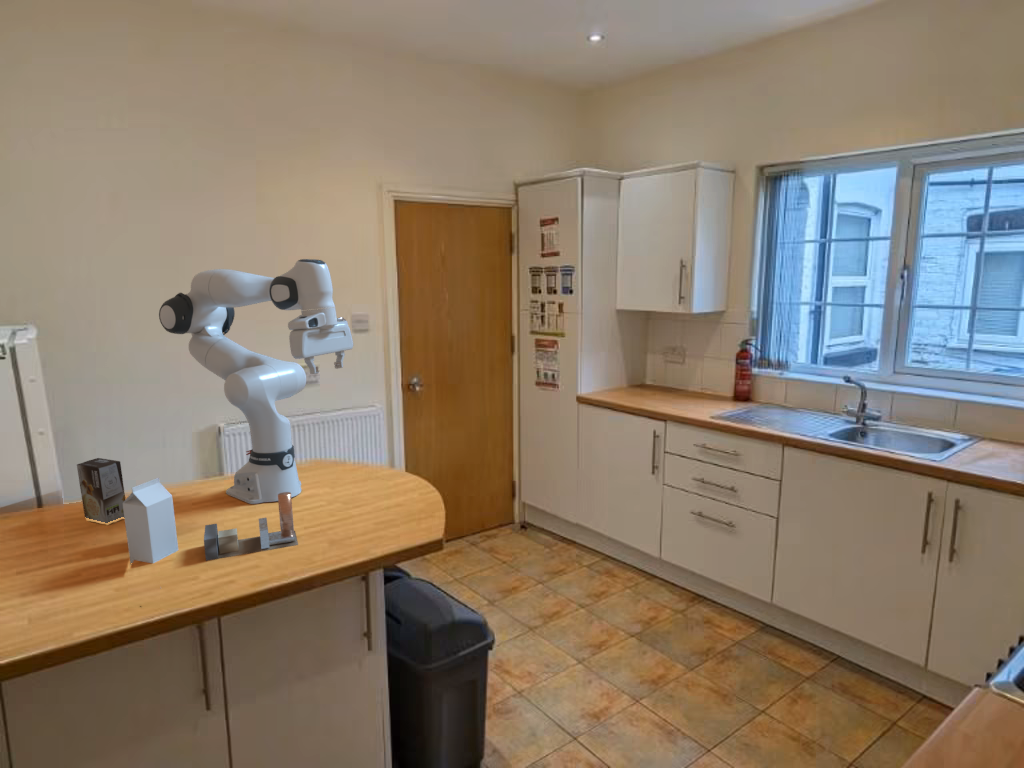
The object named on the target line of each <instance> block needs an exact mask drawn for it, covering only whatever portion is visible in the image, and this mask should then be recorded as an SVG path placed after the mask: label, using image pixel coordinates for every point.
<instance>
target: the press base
mask: <svg viewBox="0 0 1024 768" xmlns="http://www.w3.org/2000/svg"><path fill="white" fill-rule="evenodd" d="M218 531H219V530H218V524H217V523H211V524H206V525H205V526H204V534H203V535H204V536H203V547H204V554H205V562H208V561H214V560H219V559H223V558H224V559H225V558H230V557H236V556H242V555H247V554H254V553H260V552H266V551H271V550H277V549H282V548H283V549H284V548H288V547H295V546H299V542H298V538H297V533H296V530H294V535H295V541H291V542H285V543H279V544H273V545H269V546H270V548H265V549H261V540H260V535H259V536H254V537H253V536H252V537H248V538H247V537H246V538H241V539H238V551H234V552H228V553H222V554H220V552H219V542H218Z"/></svg>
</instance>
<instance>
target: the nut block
mask: <svg viewBox="0 0 1024 768" xmlns="http://www.w3.org/2000/svg"><path fill="white" fill-rule="evenodd" d="M238 540H239V539H238V528H231V529H224V530H218V542H219V552H220V554H222V553H228V552H234V551H238Z"/></svg>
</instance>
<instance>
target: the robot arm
mask: <svg viewBox="0 0 1024 768" xmlns="http://www.w3.org/2000/svg"><path fill="white" fill-rule="evenodd" d="M333 293H334V288H333V281H332V277H331V273H330V269H329V267H328V264H327V263H326V262H325V261H323V260H322V259H314V258H313V259H312V258H311V259H310V258H303V259H302V258H301V259H298V260H297V261H296V262H295V263H294V266H293V267H292V268H290V269H289V270H288V271H286V272H284V273H283V274H281V275H277V276H276V277H270V276H266V275H260V274H256V273H250V272H245V271H241V270H235V269H228V268H225V269H224V268H214V269H208V270H204V271H200V272H198V273H197V274H195V275H194V277H192V279H191V282H190V291H189V292H188V293H186V294H185V293H183V292H178V293H177V294H175V296H173V297H171V298H169V299H167V300H166V301H164V302H163V303H162V305H161V306H160V308H159V312H158V317H159V322H160V324H161V326H162V328H163V329H164V330H165V332H168V333H169V334H170V333H171V334H176V335H184V334H191V338H190V339H189V340H188V341H189V342H188V351H189V354H190V355H191V356H192V357H193V359H194V360H195V361H196V362H198V363H199V364H200V365H201V366H202V367H203V368H205V369H207V370H208V371H210V372H211V373H213V374H214V375H216V376H217V377H219V378H220V379H222V380H224V384H223V392H224V396H225V398H226V399H227V401H228V402H229V403H230V404H231V405H233V406H234V407H236V408H238V409H239V410H240V411H241V412H242V413H243V415H244V416H245V419H246V421H247V423H248V427H249V430H250V431H249V433H250V438H251V439H250V440H251V449H250V450H246V451H245V452H246V456H249V458H248V461H247V462H246V463H245V464H244V465H243V466H241V467H240V468H239V469H238V470H236V472H235V474H234V476H233V485H232V486H230V487H229V488H227V489H226V490H225V494H226V495H228V496H230V497H233V498H236V499H238V500H240V501H243V502H245V503H247V504H250V505H257V504H261V503H271V502H278V494H279V493H283V492H290V493H291V499H292V498H294V497H296V496H298V495H299V494H301V492H302V483H301V480H300V478H299V473H298V468H297V464H296V460H295V457H296V456H295V453H296V451H295V447H294V445H293V440H292V439H293V438H292V437H293V436H292V425H291V424H292V423H291V421H290V420H289V418H288V417H287V416H285V415H283V414H281V413H279V412H278V410H277V407H276V402H277V401H281V400H285V399H289V398H291V397H293V396H295V395H297V394H298V393H300V392H302V391H303V390H304V389H305V387H306V384H307V374H306V371H305V369H304V368H303V367H302V365H300V364H299V363H298V362H294V361H288V360H283V359H282V360H281V359H279V358H274V357H271V356H269V355H265V354H261V353H258V352H255V351H252V350H250V349H248V348H246V347H245V346H243V345H241V344H240V343H237V342H236V341H234V340H232V339H231V338H229V337H227V336H225V335H227V334H228V333H229V331H230V330H231V327H232V325H233V323H234V320H235V308H240V307H245V306H251V305H255V304H256V305H257V304H261V303H264V302H265V303H266V302H272V304H273V305H274V306H275V307H276V308H277V309H279V310H281V311H296V310H301V311H300V312H301V314H300V315H299V316H297V317H295V318H294V319H292V320H289V321H288V322H287V327H288V328H287V329H288V330H290V332H289V336H288V337H289V348H290V353H291V356H292V357H293V358H294V359H295V360H297V359H299V360H300V359H301V360H302V359H303V360H304V363H305V365H307V367H308V369H309V373H310V375H316V374H319V372H320V371H319V366H316V364H315V362H314V361H315V357H318V356H325V355H328V354H334V353H335V356H336V360H335V361H334V362H333V364H334V369H337V370H338V369H342V368H343V367H344V359H345V355H346V354H345V351H349V350H352V349H353V347H354V341H353V336H352V332H351V329H350V326H349V323H348V320H346V319H345V318H344V317H342V316H341V317H338V316H337V310H336V305H335V303H334V299H333V295H334V294H333Z"/></svg>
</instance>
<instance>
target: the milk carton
mask: <svg viewBox="0 0 1024 768" xmlns="http://www.w3.org/2000/svg"><path fill="white" fill-rule="evenodd" d="M174 509H175V507H174V501H173V495H172V494H171V493H170V492H169V491H168V490H167V488H166V487H165V486H164V485H163V484H162V483H161V482H160V477H157V478H154V479H150V480H149V481H145V482H143V483H141V484H138V485H136V486H133V487H131V493H130V494H129V495H128V496H127V498H125V501H124V502H123V511H124V518H125V519H124V523H125V531H126V540H127V548H128V555H129V563H130V564H131V563H133V564H134V561H137V562H138V561H139V562H143V563H148V564H149V563H150V564H155V563H158V562H159V561H161V560H163V559H164V558H167V557H168V556H170V555H172V554H175V553H176V552H178V551H179V543H178V537H177V528H176V525H177V524H176V518H175V510H174Z"/></svg>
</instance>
